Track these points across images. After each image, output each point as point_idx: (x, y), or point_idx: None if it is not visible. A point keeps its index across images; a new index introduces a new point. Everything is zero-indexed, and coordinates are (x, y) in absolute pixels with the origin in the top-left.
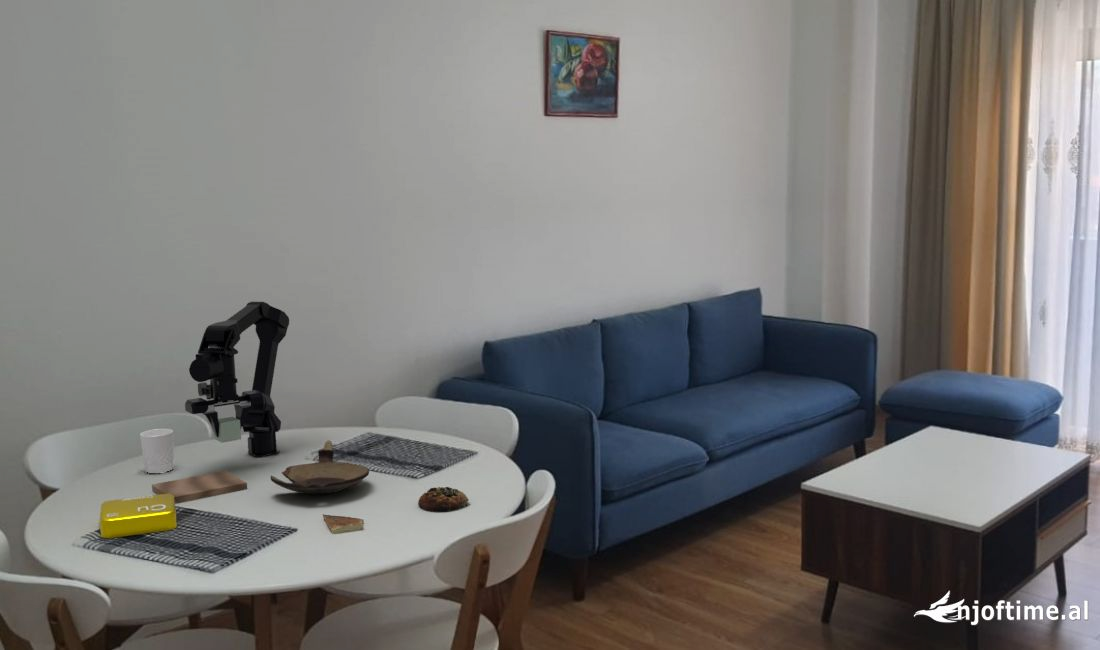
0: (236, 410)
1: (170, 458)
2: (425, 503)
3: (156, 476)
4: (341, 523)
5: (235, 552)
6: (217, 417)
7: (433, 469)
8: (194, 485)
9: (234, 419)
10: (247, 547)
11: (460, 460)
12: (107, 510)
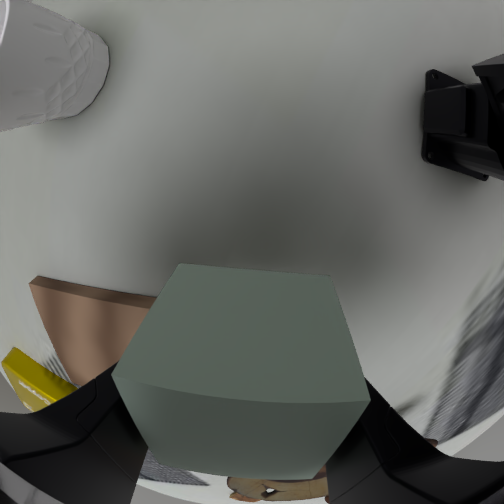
0: (381, 496)
1: (60, 106)
2: (325, 500)
3: (50, 143)
4: (241, 499)
5: (146, 475)
6: (129, 494)
7: (452, 435)
8: (107, 364)
9: (296, 464)
10: (157, 477)
11: (489, 416)
12: (17, 391)
